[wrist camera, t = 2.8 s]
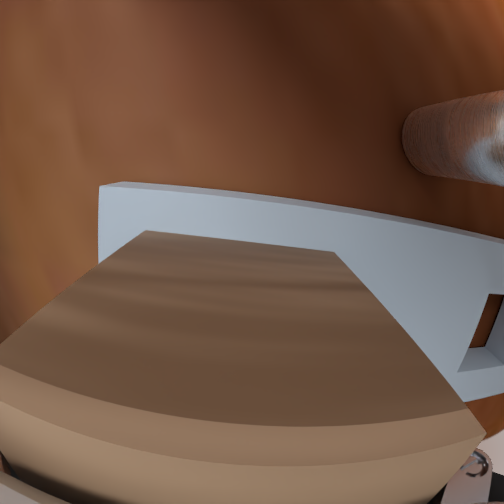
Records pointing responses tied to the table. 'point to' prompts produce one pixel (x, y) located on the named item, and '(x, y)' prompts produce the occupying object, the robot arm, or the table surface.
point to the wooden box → (226, 384)
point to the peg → (458, 138)
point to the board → (347, 261)
